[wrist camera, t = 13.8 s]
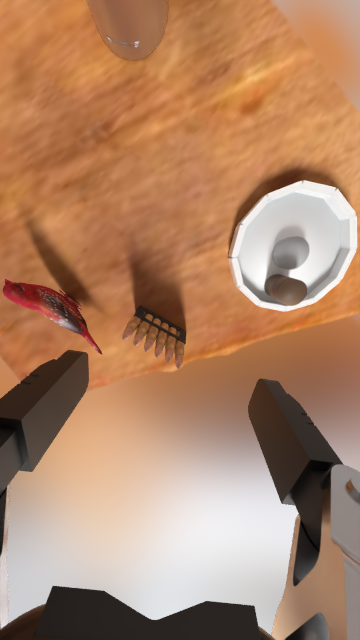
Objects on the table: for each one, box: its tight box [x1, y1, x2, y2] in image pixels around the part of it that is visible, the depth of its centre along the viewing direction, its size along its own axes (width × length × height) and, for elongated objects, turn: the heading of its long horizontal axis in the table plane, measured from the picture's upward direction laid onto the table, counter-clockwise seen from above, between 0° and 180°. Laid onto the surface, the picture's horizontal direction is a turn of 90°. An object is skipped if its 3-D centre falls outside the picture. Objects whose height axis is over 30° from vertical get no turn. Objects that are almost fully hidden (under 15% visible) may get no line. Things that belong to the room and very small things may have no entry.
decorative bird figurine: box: [3, 279, 102, 354], centre depth 32 cm, size 3×18×10 cm, turn 40°
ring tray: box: [228, 180, 357, 312], centre depth 31 cm, size 19×19×2 cm
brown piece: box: [264, 274, 307, 306], centre depth 31 cm, size 4×4×6 cm
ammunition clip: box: [122, 306, 186, 369], centre depth 32 cm, size 11×2×12 cm, turn 58°
